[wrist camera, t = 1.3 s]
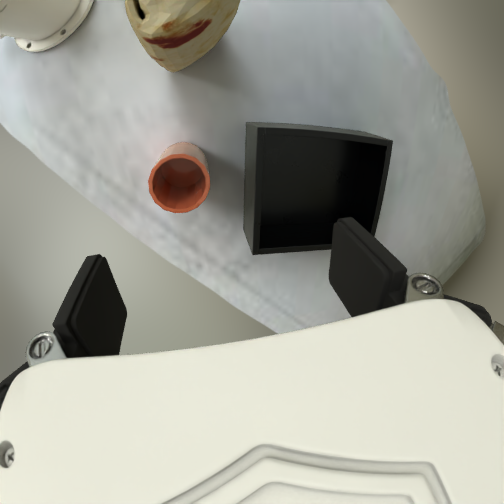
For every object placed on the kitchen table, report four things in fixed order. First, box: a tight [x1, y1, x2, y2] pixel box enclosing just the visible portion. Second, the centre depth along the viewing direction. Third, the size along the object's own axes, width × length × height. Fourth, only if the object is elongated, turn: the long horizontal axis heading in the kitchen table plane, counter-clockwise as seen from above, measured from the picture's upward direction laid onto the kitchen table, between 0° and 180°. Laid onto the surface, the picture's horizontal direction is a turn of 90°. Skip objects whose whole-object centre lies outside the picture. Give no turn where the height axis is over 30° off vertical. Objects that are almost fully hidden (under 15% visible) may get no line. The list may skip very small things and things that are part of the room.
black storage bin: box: [243, 122, 393, 255], centre depth 33 cm, size 17×15×7 cm
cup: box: [148, 142, 210, 213], centre depth 29 cm, size 6×6×8 cm
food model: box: [125, 0, 240, 72], centre depth 16 cm, size 10×7×20 cm
